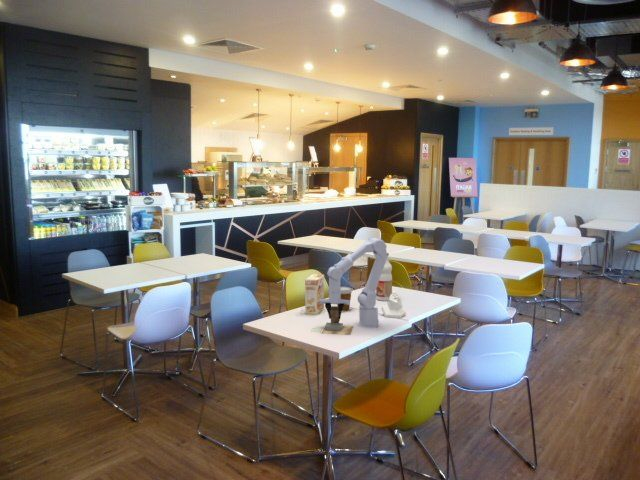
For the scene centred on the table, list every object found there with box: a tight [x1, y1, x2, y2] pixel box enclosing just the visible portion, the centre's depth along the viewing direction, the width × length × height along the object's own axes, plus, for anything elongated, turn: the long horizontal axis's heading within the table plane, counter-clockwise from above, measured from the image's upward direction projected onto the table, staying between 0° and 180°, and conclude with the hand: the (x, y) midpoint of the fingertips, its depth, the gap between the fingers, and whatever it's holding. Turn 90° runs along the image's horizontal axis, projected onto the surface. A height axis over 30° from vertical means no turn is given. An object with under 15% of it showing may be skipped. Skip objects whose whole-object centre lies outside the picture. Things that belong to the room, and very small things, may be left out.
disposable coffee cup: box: [336, 286, 353, 312], centre depth 295 cm, size 10×10×12 cm
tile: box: [324, 322, 344, 331], centre depth 260 cm, size 8×2×6 cm
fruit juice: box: [376, 252, 393, 302], centre depth 316 cm, size 9×9×28 cm
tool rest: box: [310, 328, 323, 333], centre depth 258 cm, size 5×5×1 cm
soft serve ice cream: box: [381, 290, 407, 319], centre depth 284 cm, size 12×15×14 cm
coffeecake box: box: [304, 273, 325, 316], centre depth 291 cm, size 15×7×20 cm, turn 164°
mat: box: [320, 325, 355, 336], centre depth 259 cm, size 14×14×1 cm
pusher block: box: [330, 305, 341, 323], centre depth 264 cm, size 4×4×7 cm
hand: (334, 318), depth 263 cm, fingers closed on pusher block, 4 cm apart
